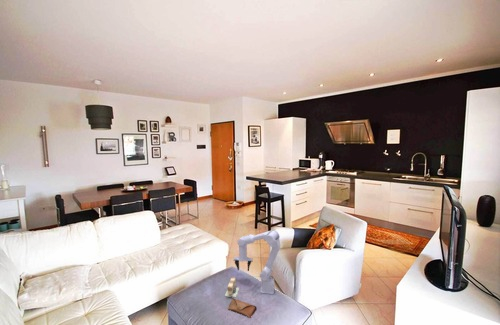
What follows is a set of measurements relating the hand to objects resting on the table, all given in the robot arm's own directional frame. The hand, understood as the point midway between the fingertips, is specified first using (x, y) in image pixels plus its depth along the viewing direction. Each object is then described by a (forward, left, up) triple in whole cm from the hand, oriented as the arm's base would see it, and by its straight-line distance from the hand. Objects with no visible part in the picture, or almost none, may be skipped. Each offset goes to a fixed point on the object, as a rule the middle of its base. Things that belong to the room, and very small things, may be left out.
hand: (243, 270), depth 172 cm
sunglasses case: (-4, +28, -11) cm, 30 cm away
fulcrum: (+6, +12, -10) cm, 17 cm away
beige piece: (+6, +13, -7) cm, 16 cm away
